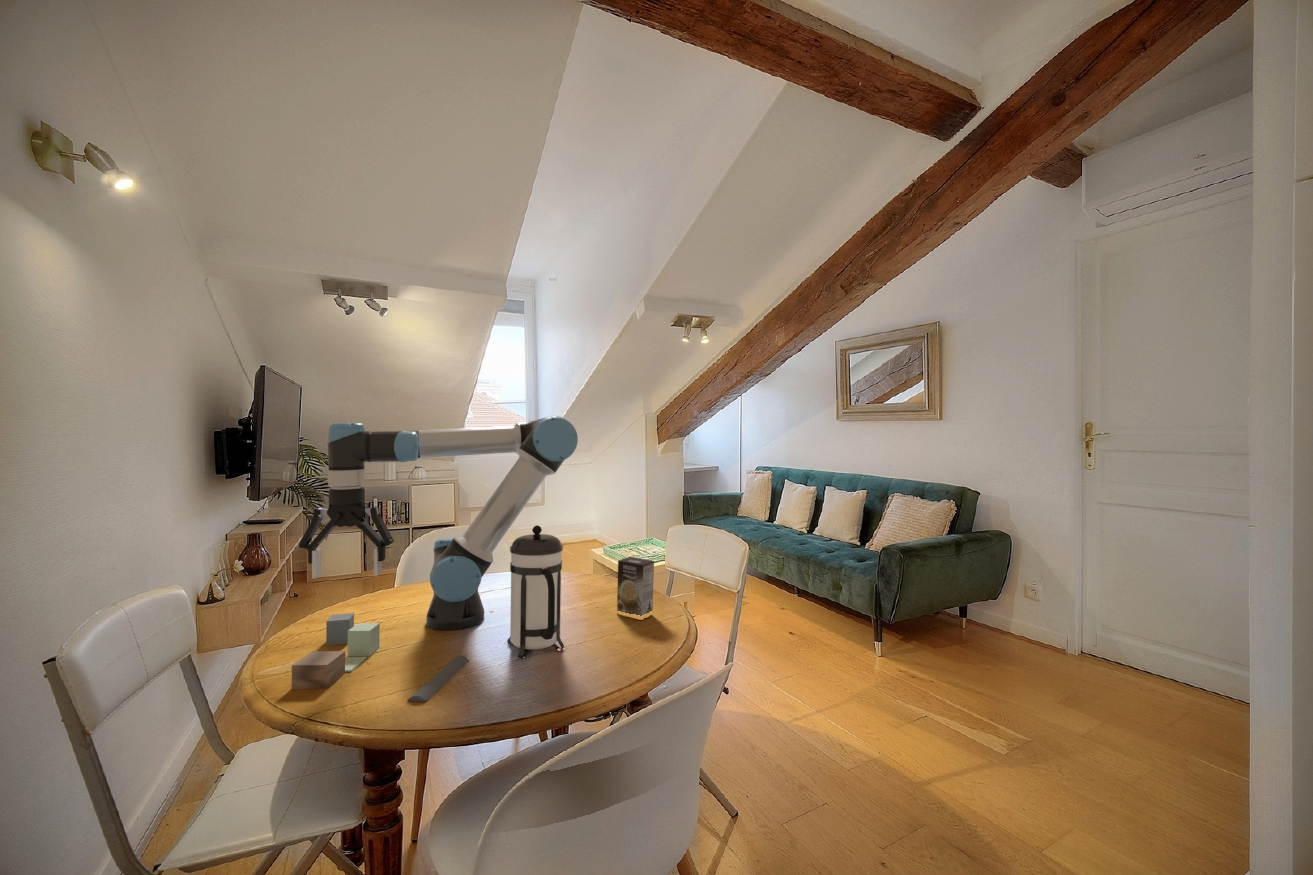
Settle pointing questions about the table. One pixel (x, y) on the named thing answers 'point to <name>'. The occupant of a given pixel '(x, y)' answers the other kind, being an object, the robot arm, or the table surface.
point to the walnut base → (318, 670)
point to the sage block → (363, 639)
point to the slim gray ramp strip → (439, 679)
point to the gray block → (338, 628)
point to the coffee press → (535, 592)
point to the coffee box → (635, 586)
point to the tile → (353, 663)
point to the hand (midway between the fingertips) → (347, 576)
